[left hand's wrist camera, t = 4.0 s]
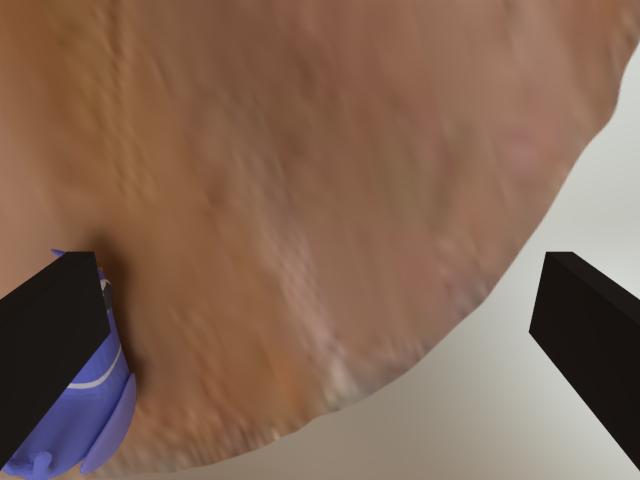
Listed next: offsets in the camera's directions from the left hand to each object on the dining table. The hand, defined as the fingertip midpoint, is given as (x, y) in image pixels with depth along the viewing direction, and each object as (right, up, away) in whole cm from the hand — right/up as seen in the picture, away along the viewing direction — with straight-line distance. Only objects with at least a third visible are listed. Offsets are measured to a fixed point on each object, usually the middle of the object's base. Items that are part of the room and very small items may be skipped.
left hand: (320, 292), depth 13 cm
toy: (-23, -8, +33) cm, 41 cm away
